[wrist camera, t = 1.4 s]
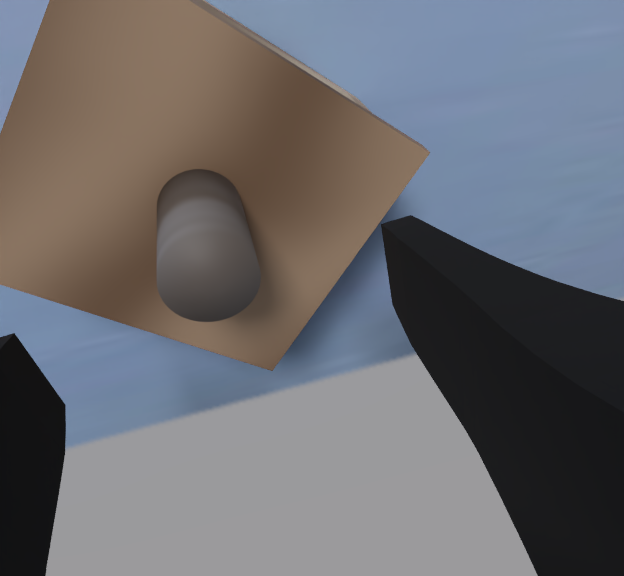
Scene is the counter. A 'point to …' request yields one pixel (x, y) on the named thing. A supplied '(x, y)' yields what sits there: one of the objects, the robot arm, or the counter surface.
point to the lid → (186, 177)
